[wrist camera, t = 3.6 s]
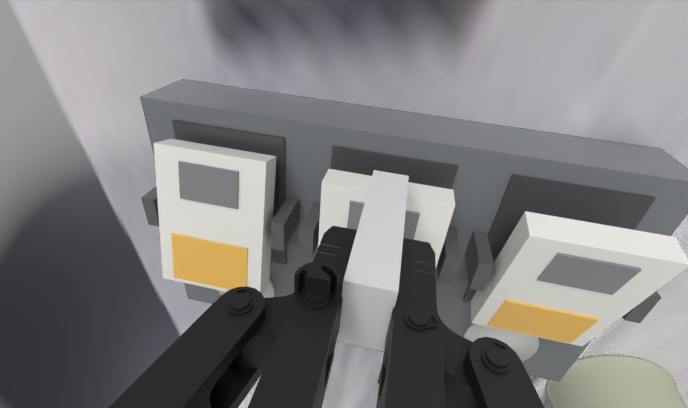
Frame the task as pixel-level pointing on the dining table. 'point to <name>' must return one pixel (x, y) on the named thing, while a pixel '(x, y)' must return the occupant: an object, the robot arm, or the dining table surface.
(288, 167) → the rocker switch panel
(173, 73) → the dining table surface
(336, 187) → the rocker middle
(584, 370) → the can
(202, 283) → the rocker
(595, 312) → the rocker
